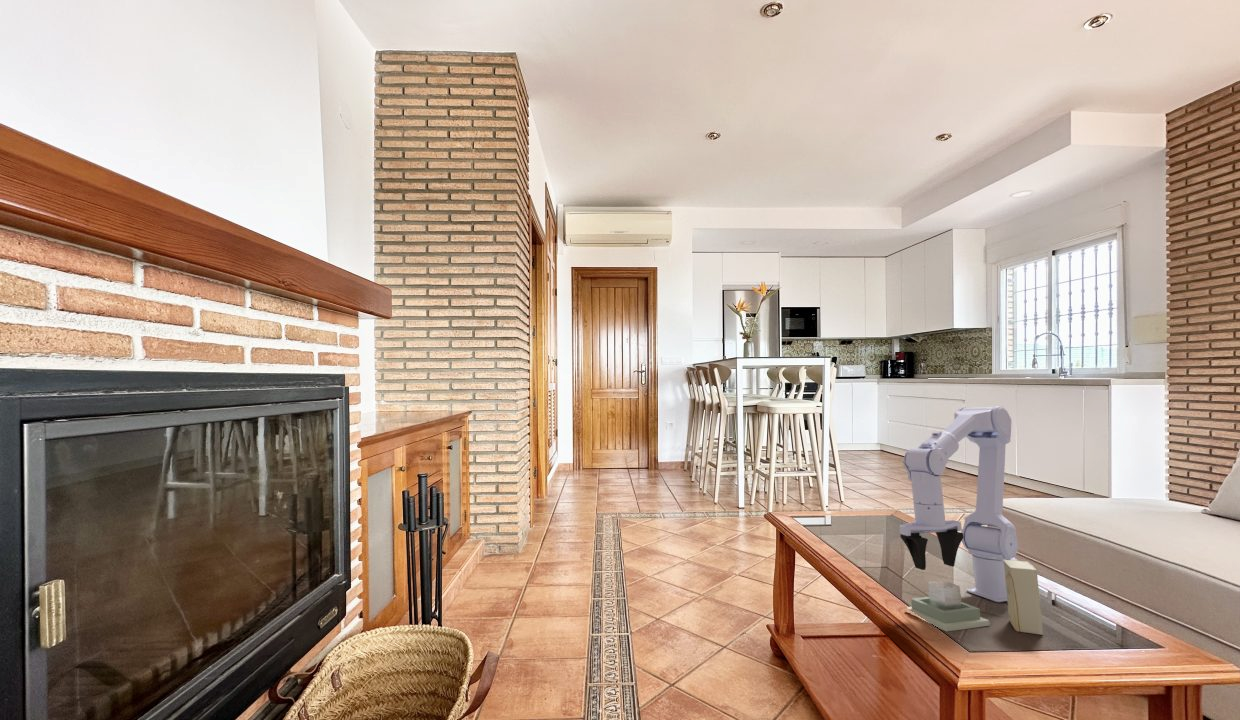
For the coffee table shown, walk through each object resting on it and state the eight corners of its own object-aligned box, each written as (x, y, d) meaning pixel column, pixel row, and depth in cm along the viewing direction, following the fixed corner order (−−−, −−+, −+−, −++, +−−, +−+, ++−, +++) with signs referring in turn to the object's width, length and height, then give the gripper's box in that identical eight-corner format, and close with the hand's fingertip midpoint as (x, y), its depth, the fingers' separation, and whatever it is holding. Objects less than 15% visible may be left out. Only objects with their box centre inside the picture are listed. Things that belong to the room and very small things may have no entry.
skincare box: (1008, 620, 102) (1001, 558, 104) (1036, 623, 100) (1028, 561, 102) (1016, 632, 97) (1008, 566, 98) (1045, 636, 95) (1037, 569, 96)
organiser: (945, 607, 110) (943, 592, 110) (989, 625, 100) (987, 609, 100) (904, 612, 108) (903, 597, 108) (946, 631, 98) (944, 615, 98)
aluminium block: (946, 609, 106) (943, 580, 107) (962, 616, 102) (959, 585, 103) (930, 611, 105) (927, 581, 106) (946, 618, 101) (943, 587, 102)
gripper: (939, 498, 116) (946, 559, 114) (887, 502, 113) (892, 565, 111) (967, 502, 109) (974, 567, 107) (911, 507, 106) (918, 574, 104)
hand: (934, 566), depth 109 cm, fingers open, 7 cm apart
